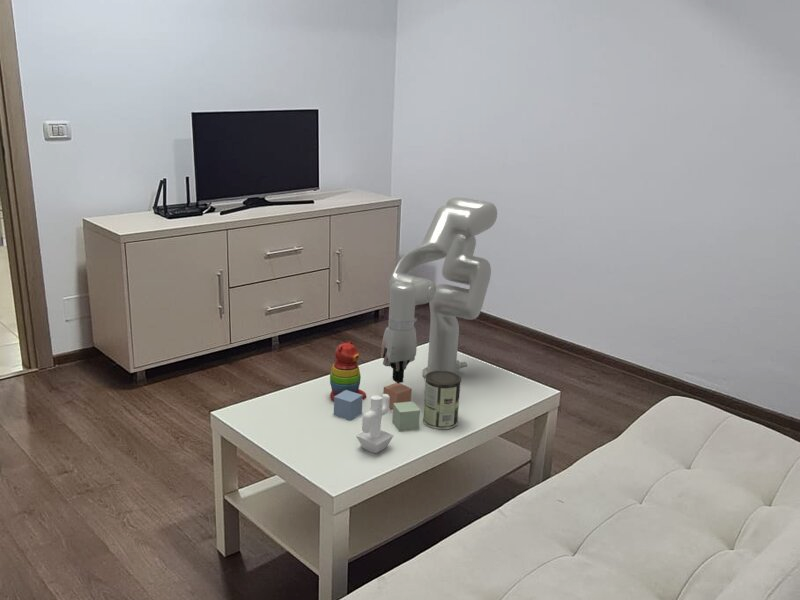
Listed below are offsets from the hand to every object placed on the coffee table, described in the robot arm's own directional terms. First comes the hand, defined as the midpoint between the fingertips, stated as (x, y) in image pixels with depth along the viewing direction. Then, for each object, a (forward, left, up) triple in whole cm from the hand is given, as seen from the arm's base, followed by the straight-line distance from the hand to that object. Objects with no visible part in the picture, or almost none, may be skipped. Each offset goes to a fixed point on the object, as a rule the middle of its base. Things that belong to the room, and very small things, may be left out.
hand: (397, 381), depth 223 cm
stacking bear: (+11, -12, -8) cm, 18 cm away
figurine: (+20, +19, -8) cm, 28 cm away
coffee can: (-5, +15, -8) cm, 18 cm away
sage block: (+5, +12, -8) cm, 15 cm away
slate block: (+16, -2, -8) cm, 18 cm away
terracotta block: (0, 0, -8) cm, 8 cm away
